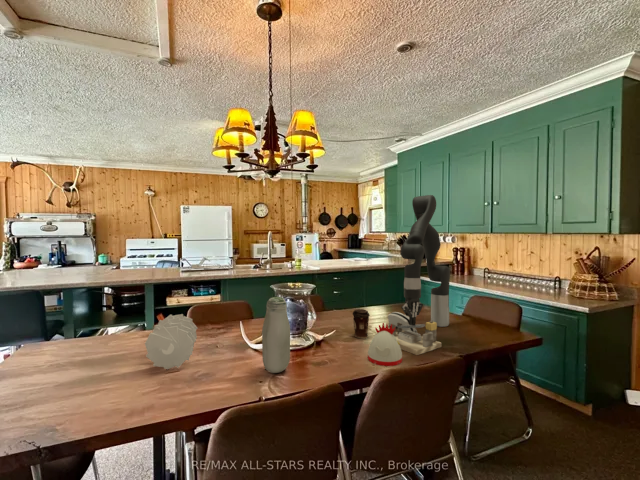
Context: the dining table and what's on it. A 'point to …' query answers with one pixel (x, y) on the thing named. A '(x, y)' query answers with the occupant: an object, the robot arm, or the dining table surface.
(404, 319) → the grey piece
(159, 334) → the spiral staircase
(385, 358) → the kitchen timer
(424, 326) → the strap
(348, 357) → the dining table surface
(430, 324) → the block
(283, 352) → the glass bottle
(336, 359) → the dining table surface
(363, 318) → the coffee cup
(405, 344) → the cream board with rail
